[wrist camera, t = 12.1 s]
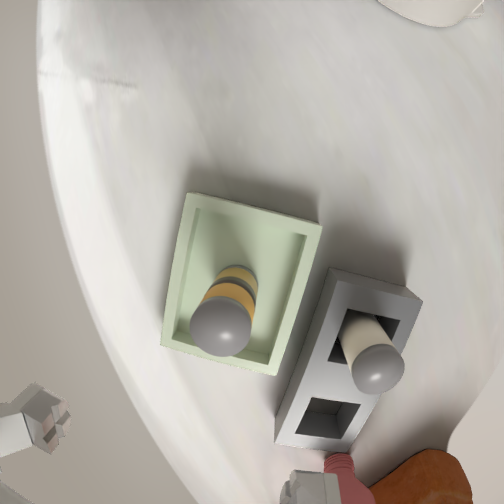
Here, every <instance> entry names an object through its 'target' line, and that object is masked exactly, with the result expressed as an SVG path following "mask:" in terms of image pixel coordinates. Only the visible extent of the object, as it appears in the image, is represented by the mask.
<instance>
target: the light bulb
mask: <svg viewBox="0 0 504 504" xmlns="http://www.w3.org/2000/svg"><path fill="white" fill-rule="evenodd" d="M353 471H354V464H353V460H352V458H351V456H350V455H348V454H343V453H340V454H335V455H332V456H330V457H329V458H327V459H326V460H325V462H324V473H334V474H336V475H337V478H338V484H339V491H340V497H341V504H375V499H374V496H373V494H372V493H371V491H370V490H369V489H368V488H367V487H366V486H365V485H364V484H363V483H362V482H360V481H359V480H358V479H356V478H355V473H354V472H353Z"/></svg>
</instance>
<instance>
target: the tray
mask: <svg viewBox="0 0 504 504" xmlns="http://www.w3.org/2000/svg"><path fill="white" fill-rule="evenodd" d="M322 228H323V226H322V225H320V224H319V223H317V222H313V221H310V220H306V219H302V218H298V217H295V216H291V215H287V214H283V213H279V212H275V211H272V210H268V209H264V208H260V207H256V206H252V205H248V204H244V203H240V202H235V201H231V200H227V199H223V198H219V197H215V196H210V195H206V194H202V193H197V192H187V194H186V198H185V203H184V208H183V213H182V217H181V222H180V227H179V232H178V237H177V242H176V248H175V253H174V259H173V264H172V270H171V275H170V281H169V287H168V293H167V300H166V306H165V313H164V319H163V326H162V334H161V341H160V345H161V346H165V347H168V348H171V349H174V350H177V351H181V352H184V353H187V354H191V355H194V356H198V357H201V358H205V359H208V360H212V361H215V362H219V363H223V364H227V365H231V366H235V367H239V368H243V369H247V370H251V371H255V372H259V373H264V374H268V375H273V376H276V375H277V372H278V369H279V366H280V363H281V360H282V357H283V355H284V352H285V349H286V346H287V343H288V340H289V337H290V334H291V331H292V328H293V325H294V322H295V318H296V315H297V312H298V309H299V306H300V303H301V300H302V296H303V293H304V290H305V287H306V283H307V280H308V277H309V273H310V270H311V267H312V263H313V260H314V256H315V253H316V250H317V246H318V243H319V239H320V235H321V232H322ZM230 265H242V266H245V267H247V268H249V269H250V270H251V271H252V272H253V273H254V274H255V275H256V277H257V280H258V293H257V299H256V307H255V313H254V317H253V323H252V329H251V334H250V339H249V342H248V344H247V345H246V347H245V348H244V349H243V350H242V351H240V352H239V353H237V354H235V355H232V356H228V357H218V356H213V355H210V354H208V353H206V352H204V351H203V350H201V349H200V348H199V347H198V346H197V345H196V344H195V342H194V341H193V339H192V337H191V334H190V328H189V325H190V320H191V317H192V315H193V313H194V312H195V310H196V309H197V307H198V305H199V304H200V302H201V301H202V299H203V297H204V295H205V294H206V292H207V291H208V289H209V287H210V286H211V285H212V283H213V282H214V280H215V279H216V277H217V275H218V274H219V272H220V271H221V270H222V269H224V268H225V267H227V266H230Z"/></svg>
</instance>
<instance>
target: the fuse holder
mask: <svg viewBox="0 0 504 504" xmlns="http://www.w3.org/2000/svg"><path fill="white" fill-rule="evenodd" d="M422 303H423V301H422V300H421V299H420V298H418V297H417V296H416V295H415V294H414V293H413V292H411V291H410V290H409V289H408V288H407V287H404V286H400V285H396V284H392V283H388V282H385V281H381V280H377V279H373V278H369V277H365V276H362V275H358V274H354V273H350V272H346V271H342V270H338V269H334V268H331V267H329V270H328V273H327V276H326V279H325V283H324V286H323V289H322V292H321V295H320V298H319V301H318V304H317V307H316V310H315V313H314V316H313V319H312V322H311V325H310V328H309V331H308V334H307V336H306V339H305V342H304V345H303V348H302V350H301V353H300V356H299V359H298V361H297V364H296V367H295V369H294V372H293V375H292V377H291V380H290V383H289V385H288V388H287V390H286V393H285V395H284V398H283V400H282V403H281V405H280V408H279V410H278V413H277V415H276V418H275V433H274V444H279V445H285V446H292V447H299V448H306V449H314V450H323V451H333V452H345V453H347V451H348V449H349V448H350V446H351V445H352V443H353V442H354V440H355V438H356V437H357V435H358V434H359V432H360V430H361V429H362V427H363V425H364V424H365V422H366V420H367V419H368V417H369V415H370V413H371V412H372V410H373V408H374V406H375V405H376V403H377V401H378V399H379V397H380V395H381V394H376V395H369V394H365V393H362V392H361V391H359V390H358V389H357V387H356V386H355V383H354V380H353V378H352V375H351V372H350V369H349V366H348V363H347V360H346V357H345V355H344V352H343V349H342V346H341V344H340V343H335V340H336V337H337V335H338V332H339V330H340V327H341V324H342V322H343V319H344V316H345V313H346V311H347V308H348V309H353V310H357V311H362V312H366V313H371V314H375V315H379V316H381V318H380V320H379V324H380V325H381V327H382V328H383V330H384V331H385V333H386V334H387V336H388V337H389V339H390V340H391V342H392V343H393V345H394V346H395V348H396V349H397V351H398V352H399V354H400V355H401V353H402V351H403V349H404V347H405V344H406V342H407V340H408V338H409V335H410V333H411V331H412V328H413V326H414V324H415V321H416V319H417V316H418V314H419V311H420V309H421V306H422ZM312 397H315V398H322V399H328V400H335V401H341V402H343V403H342V405H341V407H340V409H339V411H338V413H337V414H336V415H328V414H321V413H315V412H308V411H306V409H307V406H308V404H309V402H310V400H311V398H312Z"/></svg>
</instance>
